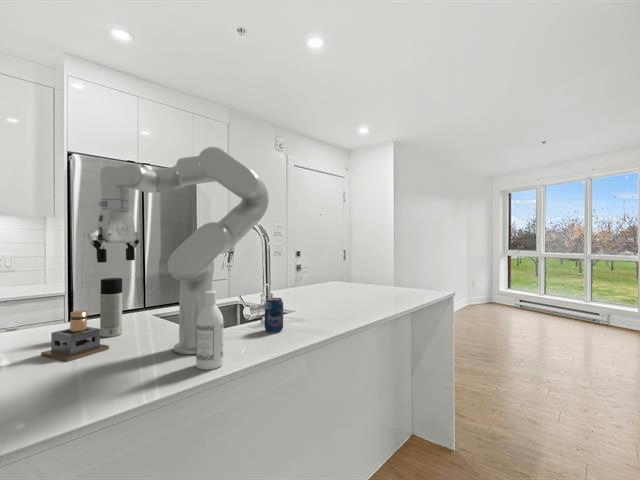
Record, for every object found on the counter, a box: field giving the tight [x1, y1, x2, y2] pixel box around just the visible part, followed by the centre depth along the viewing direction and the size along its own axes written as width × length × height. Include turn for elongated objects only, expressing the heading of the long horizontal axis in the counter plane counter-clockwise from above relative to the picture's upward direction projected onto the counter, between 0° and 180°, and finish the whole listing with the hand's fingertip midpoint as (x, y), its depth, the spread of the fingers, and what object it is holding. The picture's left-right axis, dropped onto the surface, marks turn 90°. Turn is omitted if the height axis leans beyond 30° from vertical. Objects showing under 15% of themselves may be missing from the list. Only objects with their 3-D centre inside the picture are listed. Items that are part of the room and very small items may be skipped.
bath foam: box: [195, 290, 224, 371], centre depth 92 cm, size 7×7×20 cm
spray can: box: [99, 277, 123, 338], centre depth 121 cm, size 7×7×20 cm
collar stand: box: [40, 326, 110, 362], centre depth 102 cm, size 12×12×6 cm
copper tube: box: [69, 310, 88, 345], centre depth 102 cm, size 4×4×11 cm
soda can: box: [264, 297, 284, 334], centre depth 128 cm, size 7×7×12 cm
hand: (116, 261), depth 106 cm, fingers open, 9 cm apart
